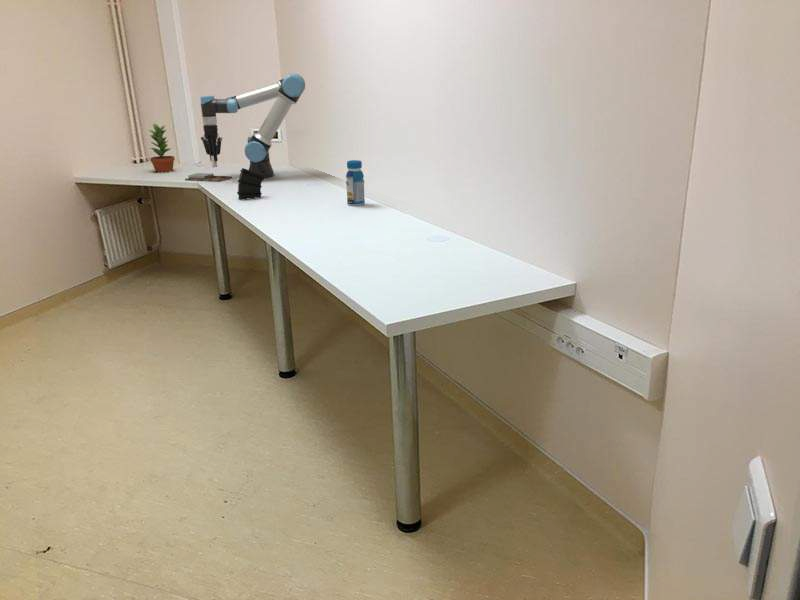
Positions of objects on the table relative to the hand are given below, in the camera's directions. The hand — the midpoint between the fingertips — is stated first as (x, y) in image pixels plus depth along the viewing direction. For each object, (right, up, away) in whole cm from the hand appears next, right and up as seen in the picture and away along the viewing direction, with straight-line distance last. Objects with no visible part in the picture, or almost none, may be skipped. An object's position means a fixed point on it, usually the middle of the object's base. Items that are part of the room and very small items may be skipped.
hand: (214, 167), depth 355 cm
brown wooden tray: (-5, -7, +5) cm, 10 cm away
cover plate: (-9, -6, +6) cm, 12 cm away
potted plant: (-44, +6, +41) cm, 60 cm away
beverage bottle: (+85, -31, -64) cm, 111 cm away
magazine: (+32, -25, -45) cm, 60 cm away
